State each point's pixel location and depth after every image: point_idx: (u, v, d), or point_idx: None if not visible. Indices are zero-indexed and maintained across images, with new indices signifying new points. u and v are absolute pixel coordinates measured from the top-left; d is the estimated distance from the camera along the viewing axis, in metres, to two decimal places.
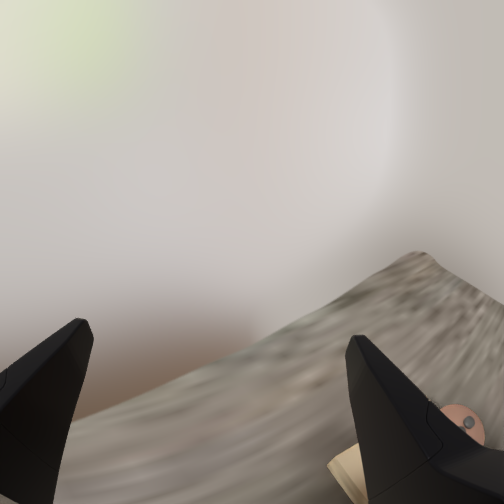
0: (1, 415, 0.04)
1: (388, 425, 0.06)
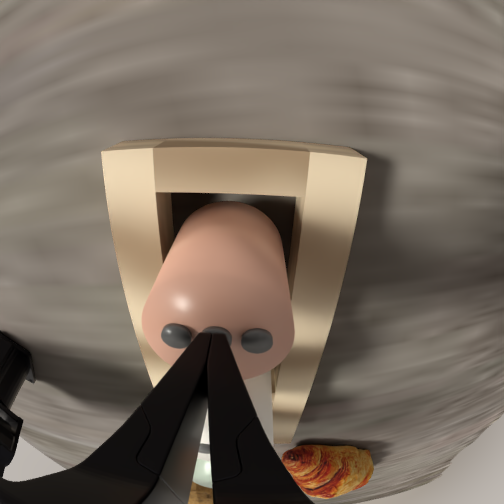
0: (164, 469, 0.04)
1: None
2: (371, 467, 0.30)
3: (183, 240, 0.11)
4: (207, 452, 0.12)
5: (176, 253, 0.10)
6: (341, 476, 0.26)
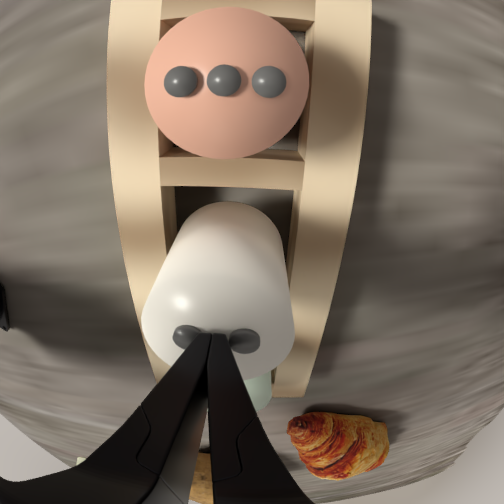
0: (164, 469, 0.04)
1: None
2: (387, 444, 0.27)
3: None
4: None
5: None
6: (356, 450, 0.23)
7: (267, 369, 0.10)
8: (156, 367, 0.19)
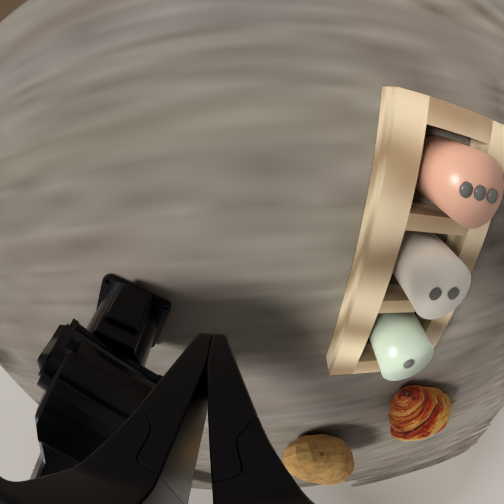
0: (164, 469, 0.04)
1: None
2: None
3: (448, 146, 0.15)
4: (436, 297, 0.18)
5: (454, 149, 0.14)
6: (437, 411, 0.29)
7: (453, 308, 0.19)
8: (340, 356, 0.25)
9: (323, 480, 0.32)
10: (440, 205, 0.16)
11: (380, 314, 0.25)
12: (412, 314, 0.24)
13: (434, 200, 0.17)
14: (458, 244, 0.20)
